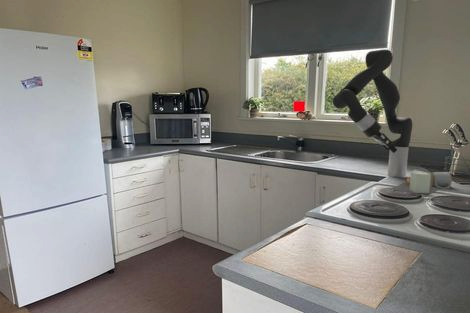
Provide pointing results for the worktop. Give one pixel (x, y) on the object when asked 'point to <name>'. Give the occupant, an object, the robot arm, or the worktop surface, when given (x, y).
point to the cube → (408, 181)
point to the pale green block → (420, 182)
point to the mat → (406, 189)
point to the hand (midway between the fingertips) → (391, 150)
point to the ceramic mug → (441, 180)
